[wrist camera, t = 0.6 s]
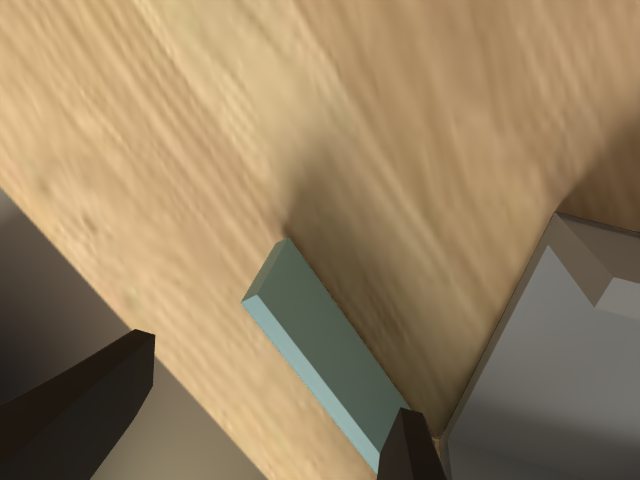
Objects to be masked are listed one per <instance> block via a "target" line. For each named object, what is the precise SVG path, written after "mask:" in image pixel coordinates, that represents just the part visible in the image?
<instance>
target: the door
mask: <svg viewBox="0 0 640 480" xmlns="http://www.w3.org/2000/svg"><path fill="white" fill-rule="evenodd" d="M241 304H242V305H243V307H244V308H245V309H246V310H247V312H248V313H249V314H250V315H251V317H252V318H253V319H254V320H255V322H256V323H257V324H258V325H259V327H260V328H261V329H262V331H263V332H264V333H265V334H266V336H267V337H268V338H269V339H270V341H271V342H272V343H273V344H274V346H275V347H276V348H277V349H278V351H279V352H280V353H281V355H282V356H283V357H284V358H285V360H286V361H287V362H288V363H289V365H290V366H291V367H292V368H293V370H294V371H295V372H296V373H297V375H298V376H299V377H300V379H301V380H302V381H303V382H304V384H305V385H306V386H307V387H308V389H309V390H310V391H311V392H312V394H313V395H314V396H315V397H316V399H317V400H318V401H319V403H320V404H321V405H322V406H323V408H324V409H325V410H326V411H327V413H328V414H329V415H330V416H331V418H332V419H333V420H334V421H335V423H336V424H337V425H338V427H339V428H340V429H341V430H342V432H343V433H344V434H345V435H346V437H347V438H348V439H349V440H350V442H351V443H352V444H353V445H354V447H355V448H356V449H357V451H358V452H359V453H360V454H361V456H362V457H363V458H364V459H365V461H366V462H367V463H368V464H369V466H370V467H371V468H372V469H373V471H374V472H375V473H376V475H377V474H378V465H379V456H380V453H381V450H382V448H383V446H384V443H385V441H386V439H387V437H388V434H389V432H390V430H391V427H392V425H393V423H394V421H395V418H396V416H397V414H398V412H399V409H400V407H402V408H405V409H409V410H411V409H410V407H409V406H408V405H407V403H406V402H405V400H404V399H403V397H402V396H401V395H400V393H399V392H398V390H397V389H396V388H395V386H394V385H393V383H392V382H391V380H390V379H389V378H388V376H387V375H386V373H385V372H384V371H383V369H382V368H381V366H380V365H379V364H378V362H377V361H376V359H375V358H374V356H373V355H372V354H371V352H370V351H369V349H368V348H367V347H366V345H365V344H364V342H363V341H362V339H361V338H360V337H359V335H358V334H357V332H356V331H355V330H354V328H353V327H352V325H351V324H350V323H349V321H348V320H347V318H346V317H345V315H344V314H343V313H342V311H341V310H340V308H339V307H338V306H337V304H336V303H335V301H334V300H333V298H332V297H331V296H330V294H329V293H328V291H327V290H326V289H325V287H324V286H323V284H322V283H321V282H320V280H319V279H318V277H317V276H316V274H315V273H314V272H313V270H312V269H311V267H310V266H309V265H308V263H307V262H306V260H305V259H304V257H303V256H302V255H301V253H300V252H299V250H298V249H297V248H296V246H295V245H294V243H293V242H292V241H291V239H290V238H289V237H287V238H285V239H284V240H282V241H280V242H278V243H276V244H275V246H274V247H273V249H272V251H271V252H270V254H269V256H268V257H267V259H266V261H265V263H264V264H263V266H262V268H261V269H260V271H259V273H258V274H257V276H256V278H255V279H254V281H253V283H252V284H251V286H250V288H249V289H248V291H247V293H246V295H245V296H244V298H243V300H242V301H241ZM432 441H433V440H432ZM433 444H434V446H435V442H434V441H433Z"/></svg>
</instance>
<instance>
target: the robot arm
mask: <svg viewBox="0 0 640 480" xmlns="http://www.w3.org/2000/svg"><path fill="white" fill-rule="evenodd" d="M154 351H155V335H154V334H150V333H147V332H144V331H140V330H137V329H134V330H133V331H131V332H129V333H128V334H126V335H124V336H122V337H121V338H119V339H118V340H116V341H114V342H113V343H111V344H109V345H108V346H106V347H105V348H103V349H101V350H100V351H98V352H96V353H95V354H93V355H91V356H90V357H88V358H86V359H85V360H83V361H81V362H80V363H78V364H76V365H75V366H73V367H71V368H69V369H68V370H66V371H64V372H62V373H61V374H59V375H57V376H55V377H54V378H52V379H50V380H48V381H46V382H44V383H42V384H40V385H39V386H37V387H35V388H33V389H31V390H29V391H27V392H25V393H23V394H21V395H20V396H17V397H16V398H13V399H11V400H9V401H7V402H5V403H3V404H1V405H0V480H90V478H91V477H92V476H93V474H94V473H95V472H96V470H97V469H98V468H99V466H100V465H101V463H102V462H103V461H104V459H105V458H106V457H107V455H108V454H109V453H110V451H111V450H112V449H113V447H114V446H115V445H116V443H117V442H118V440H119V439H120V438H121V436H122V435H123V433H124V432H125V431H126V429H127V428H128V427H129V425H130V424H131V422H132V421H133V419H134V418H135V416H136V415H137V413H138V411H139V409H140V408H141V406H142V404H143V402H144V401H145V398H146V397H147V395H148V394H149V392H150V390H151V388H152V386H153V370H154ZM377 480H447V477H446V475H445V472H444V470H443V467H442V465H441V462H440V460H439V457H438V454H437V452H436V449H435V446H434V444H433V441H432V438H431V435H430V432H429V430H428V427H427V424H426V421H425V418H424V416H423V414H422V413H419V412H416V411H412V410H409V409H405V408H402V407H400V409H399V412H398V414H397V416H396V418H395V421H394V423H393V425H392V427H391V430H390V432H389V434H388V437H387V439H386V441H385V443H384V446H383V448H382V450H381V453H380V456H379V465H378V474H377Z"/></svg>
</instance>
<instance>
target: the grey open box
mask: <svg viewBox="0 0 640 480" xmlns="http://www.w3.org/2000/svg"><path fill="white" fill-rule="evenodd" d="M439 445H440V455H441V465H442V467H443V470H444V472H445V475H446V477H447V480H640V233H638V232H634V231H630V230H626V229H622V228H618V227H614V226H610V225H606V224H602V223H598V222H593V221H589V220H585V219H581V218H577V217H573V216H569V215H565V214H561V213H557V212H554V214H553V216H552V218H551V220H550V222H549V224H548V226H547V228H546V230H545V232H544V234H543V236H542V238H541V240H540V242H539V244H538V246H537V248H536V250H535V252H534V254H533V256H532V258H531V260H530V262H529V264H528V266H527V268H526V270H525V272H524V274H523V276H522V278H521V280H520V282H519V284H518V286H517V288H516V290H515V292H514V294H513V296H512V298H511V300H510V302H509V304H508V306H507V308H506V310H505V312H504V314H503V316H502V318H501V320H500V322H499V324H498V326H497V328H496V330H495V332H494V334H493V336H492V337H491V339H490V341H489V343H488V345H487V347H486V349H485V351H484V353H483V355H482V357H481V359H480V361H479V363H478V365H477V367H476V369H475V371H474V373H473V375H472V377H471V379H470V381H469V383H468V385H467V387H466V389H465V391H464V393H463V395H462V397H461V399H460V401H459V403H458V405H457V407H456V409H455V411H454V413H453V415H452V417H451V419H450V421H449V423H448V425H447V427H446V429H445V431H444V433H443V435H442V437H441V439H440V441H439Z"/></svg>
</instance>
